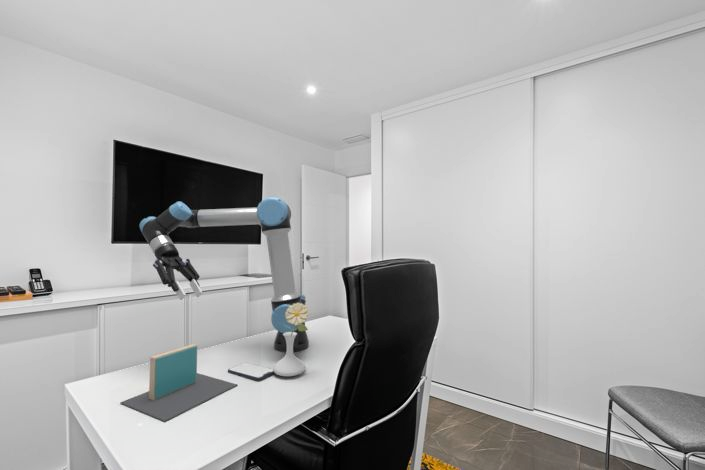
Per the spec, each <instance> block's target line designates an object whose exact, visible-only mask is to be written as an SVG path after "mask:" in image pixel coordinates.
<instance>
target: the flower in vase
mask: <svg viewBox="0 0 705 470" xmlns="http://www.w3.org/2000/svg"><path fill="white" fill-rule="evenodd" d="M309 314H310V311H309V310H308V306H307V305H306V304H305V305H303V304H300V303H297V304H293V305H291V306H289V308H288V309H287V311H286V313H285V316H286V319H288V320H287V322H288V323H290V324H293V325H296V327H297V329H298V330H299V331H306V332H307V331H308V327H307V326H306V324H305V325H304V324H301V323H303V322H305V323H306V321H307V319H308V318H309ZM299 324H300V325H299ZM297 325H298V326H297ZM284 326H285V325H284ZM286 327H288V326H286ZM296 327H295V328H294V330H295V329H296ZM288 328H290V327H288ZM290 329H291V328H290ZM294 330H293V331H294ZM293 331H292V332H286V333H283V336H284V337H285V339H286V345H287V352H285V355H284V356H283V357H282V358H281V359H279V360H278V361H277V362H276V363H275V364H274V366H273V368H272V369H273V371H274V373H275V375H277V376H281V377H295V376H298V375H300V374H302V373H304V372H305V370H306V368H307V367H306V364H305V363H304V362H303V361H302V360H301V359H300V358H298V357H297V356H295V354H294V351H293V343H294V339H295V337H296V335H297V333H296V332H293Z"/></svg>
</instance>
